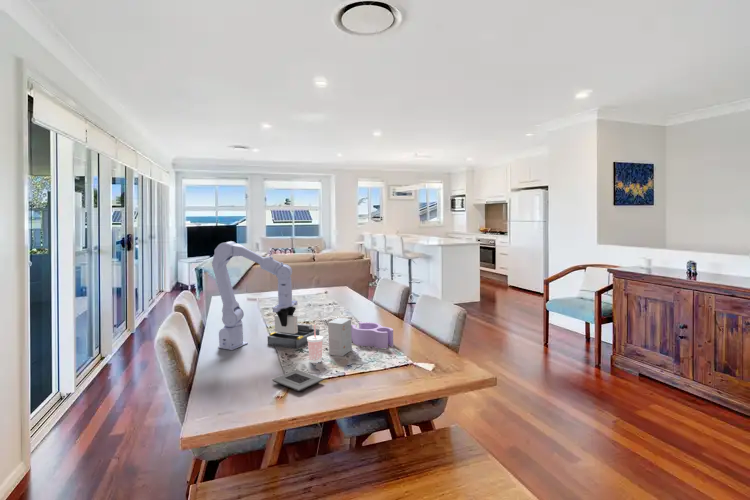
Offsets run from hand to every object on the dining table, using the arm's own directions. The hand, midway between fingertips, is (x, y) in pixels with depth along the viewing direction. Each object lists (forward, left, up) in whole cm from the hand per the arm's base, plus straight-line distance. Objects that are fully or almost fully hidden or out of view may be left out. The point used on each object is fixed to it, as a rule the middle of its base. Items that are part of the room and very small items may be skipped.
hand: (286, 325), depth 173 cm
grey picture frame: (-32, -28, -9) cm, 43 cm away
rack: (+5, 0, -8) cm, 10 cm away
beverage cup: (-12, -22, -9) cm, 26 cm away
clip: (+16, -32, -9) cm, 37 cm away
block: (0, 0, -3) cm, 3 cm away
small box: (0, -26, -9) cm, 27 cm away
